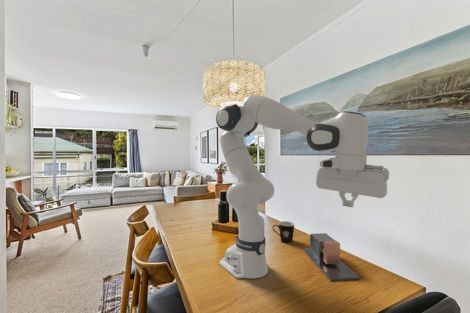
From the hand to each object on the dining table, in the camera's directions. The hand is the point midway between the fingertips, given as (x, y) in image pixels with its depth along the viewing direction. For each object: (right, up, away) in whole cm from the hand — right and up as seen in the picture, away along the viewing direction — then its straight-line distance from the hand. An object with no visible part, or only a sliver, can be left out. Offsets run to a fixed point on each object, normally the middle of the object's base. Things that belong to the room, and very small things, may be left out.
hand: (347, 206), depth 73 cm
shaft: (+6, -31, +35) cm, 47 cm away
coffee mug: (-8, -33, +58) cm, 67 cm away
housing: (+6, -33, +33) cm, 47 cm away
